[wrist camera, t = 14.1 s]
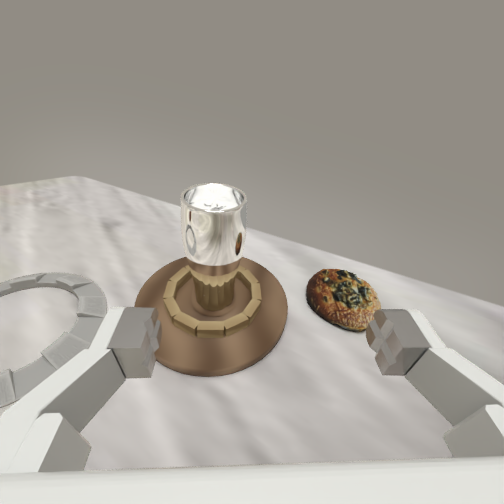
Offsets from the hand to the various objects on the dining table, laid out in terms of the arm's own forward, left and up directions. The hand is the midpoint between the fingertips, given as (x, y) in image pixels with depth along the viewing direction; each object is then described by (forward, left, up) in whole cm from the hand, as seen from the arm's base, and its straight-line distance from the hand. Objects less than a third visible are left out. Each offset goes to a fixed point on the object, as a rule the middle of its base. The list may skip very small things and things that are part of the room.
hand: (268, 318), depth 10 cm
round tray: (+3, -18, -20) cm, 27 cm away
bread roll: (-16, -19, -21) cm, 32 cm away
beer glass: (+3, -18, -19) cm, 26 cm away
